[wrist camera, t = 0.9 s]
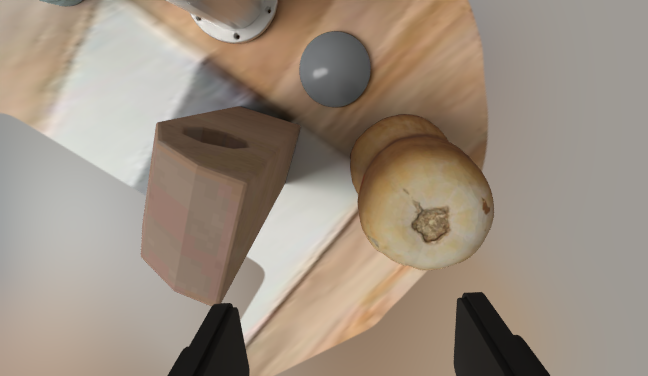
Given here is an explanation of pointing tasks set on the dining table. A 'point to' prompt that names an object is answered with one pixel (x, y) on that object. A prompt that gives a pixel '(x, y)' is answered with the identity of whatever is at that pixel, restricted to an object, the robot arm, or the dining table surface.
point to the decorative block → (212, 195)
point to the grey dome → (334, 69)
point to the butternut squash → (419, 194)
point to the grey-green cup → (63, 2)
